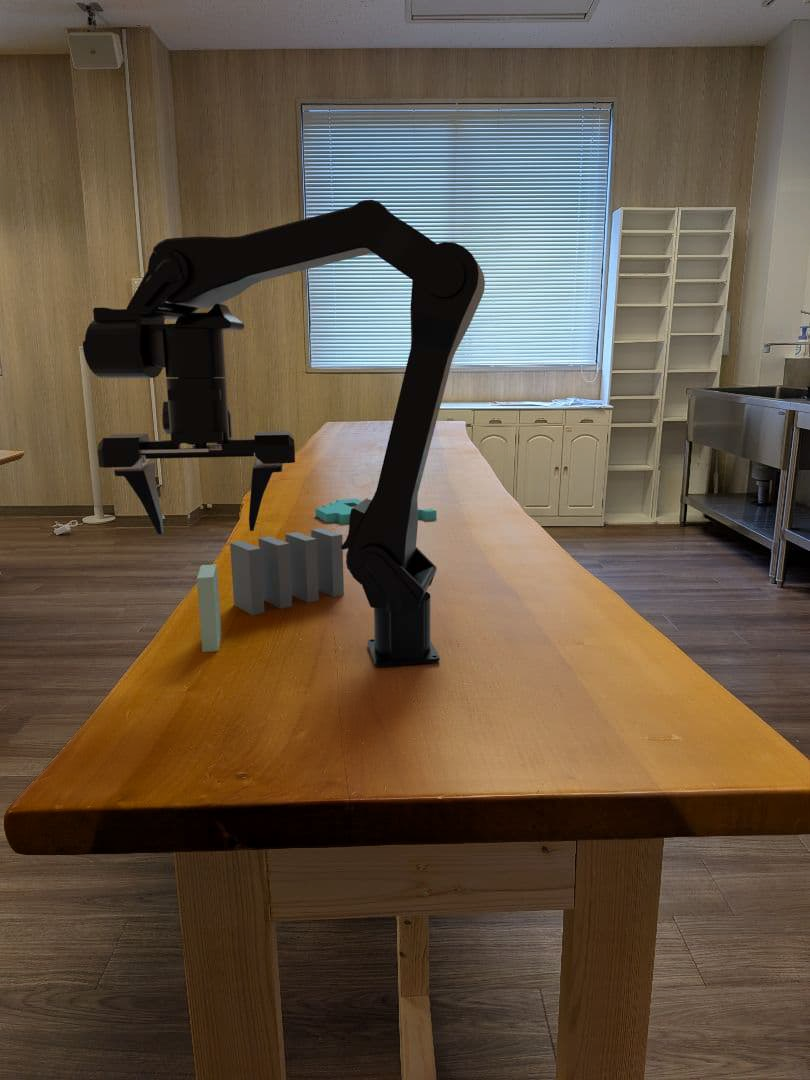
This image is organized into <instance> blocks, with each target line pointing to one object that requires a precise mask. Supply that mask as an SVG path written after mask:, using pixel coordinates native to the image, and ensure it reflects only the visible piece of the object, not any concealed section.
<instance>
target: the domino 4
mask: <svg viewBox="0 0 810 1080" xmlns="http://www.w3.org/2000/svg"><path fill="white" fill-rule="evenodd" d="M310 531H311V532H310V537H312V538H315V539H317V566H318V592H321V593H323V594H325V595H328V596H330V597H333V598H336V597H339V596H343V595H344V596H345V587H344V586H345V585H344V555H343V554H344V550H342V549H341V546H342V545H343V543H344V541H343V534H342V533H339V532H336V531H332V530H329V529H327V528H326V529H325V528H323V527H320V528H313V529H310Z"/></svg>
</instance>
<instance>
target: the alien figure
mask: <svg viewBox="0 0 810 1080" xmlns="http://www.w3.org/2000/svg"><path fill="white" fill-rule="evenodd" d="M362 501H363V500H360V499H358V498H354V497H353V498H347V499H346V498H345V499H344V498H343V499H336V500H335V502H333V501H331V502H329V503H328V504H322V507H315V517H316V516H317V517H319V518H320V519H319V518H318V519H319V520H321V519H322V521H323V520H324V521H325V522H324V521H323V522H324V523H326V522H331V523H338V524H341V525H344V524H349V519H350V513H351V509H352V508H354V507H355V506H356V505H358V504H359V503H361V502H362ZM317 517H316V518H317ZM418 520H423V521H426V522H427V521H435V520H437V510H435V509H433V508H428V509H427V508H426V509H421V508H420V509H419V508H418Z"/></svg>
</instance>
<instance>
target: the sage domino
mask: <svg viewBox="0 0 810 1080" xmlns="http://www.w3.org/2000/svg"><path fill="white" fill-rule="evenodd" d="M196 583H197V584H196V585H197V586H196V587H197V597H198V613H199V625H200V627H199V628H200V636H201V637H200V638H201V640H200V641H201V650H202V651H201V652H202V653H207V652H209V653H210V652H218V651H219V650H220V644H221V638H222V626H221V625H222V624H221V621H222V620H221V609H220V607H221V606H220V597H219V595H220V594H219V579H218V566H217V564H216V563H215V564H202V565H200V568H199V571H198V574H197V577H196Z"/></svg>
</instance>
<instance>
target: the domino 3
mask: <svg viewBox="0 0 810 1080" xmlns="http://www.w3.org/2000/svg"><path fill="white" fill-rule="evenodd" d="M284 536H285V542H287V543H289V544H290V566H291V588H292V597H294V598H297V599H299V600H301V601H303V602H304V603H307V604H309V603H313V602H318V601H319V600H320V599H319V597H320V596H319V594H320V593H319V590H318V566H317V539H315V538H312V537H311V535H310V536H309V535H307V534H305V533H300V532H297V531H296V532H295V531H293V532H289V533H284Z"/></svg>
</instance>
